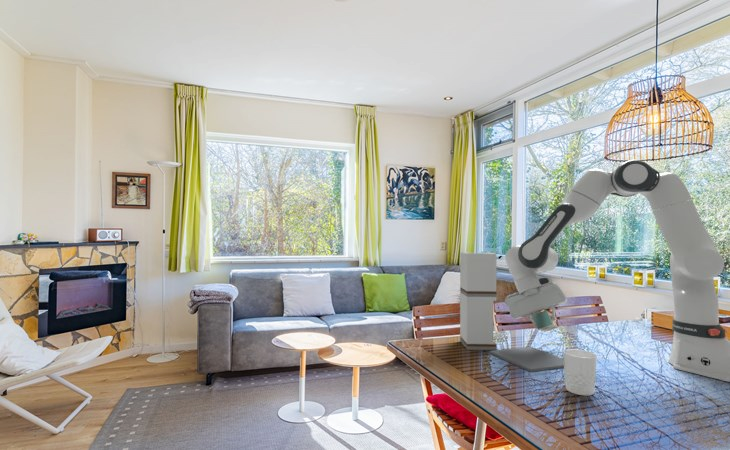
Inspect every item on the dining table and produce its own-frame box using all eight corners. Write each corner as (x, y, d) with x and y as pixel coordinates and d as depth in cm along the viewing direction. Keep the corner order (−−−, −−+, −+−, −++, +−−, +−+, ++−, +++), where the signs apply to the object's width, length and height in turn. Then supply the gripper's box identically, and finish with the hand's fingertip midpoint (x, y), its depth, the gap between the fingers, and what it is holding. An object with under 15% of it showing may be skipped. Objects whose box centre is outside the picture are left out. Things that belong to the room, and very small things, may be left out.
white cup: (567, 383, 111) (566, 347, 112) (599, 390, 106) (599, 352, 107) (560, 391, 105) (559, 353, 105) (593, 399, 100) (593, 359, 100)
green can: (551, 314, 147) (545, 310, 138) (558, 327, 145) (552, 324, 136) (538, 319, 149) (531, 315, 140) (544, 331, 147) (537, 328, 138)
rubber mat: (576, 366, 126) (576, 363, 126) (530, 371, 120) (530, 369, 120) (531, 349, 145) (531, 346, 145) (489, 353, 139) (489, 351, 139)
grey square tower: (496, 350, 143) (496, 253, 144) (467, 349, 144) (467, 253, 145) (487, 341, 155) (487, 252, 156) (460, 341, 155) (460, 252, 156)
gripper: (500, 295, 149) (515, 331, 143) (555, 275, 141) (572, 312, 135) (505, 298, 154) (519, 333, 148) (557, 278, 146) (575, 314, 140)
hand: (545, 323), depth 141 cm, fingers closed on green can, 5 cm apart
